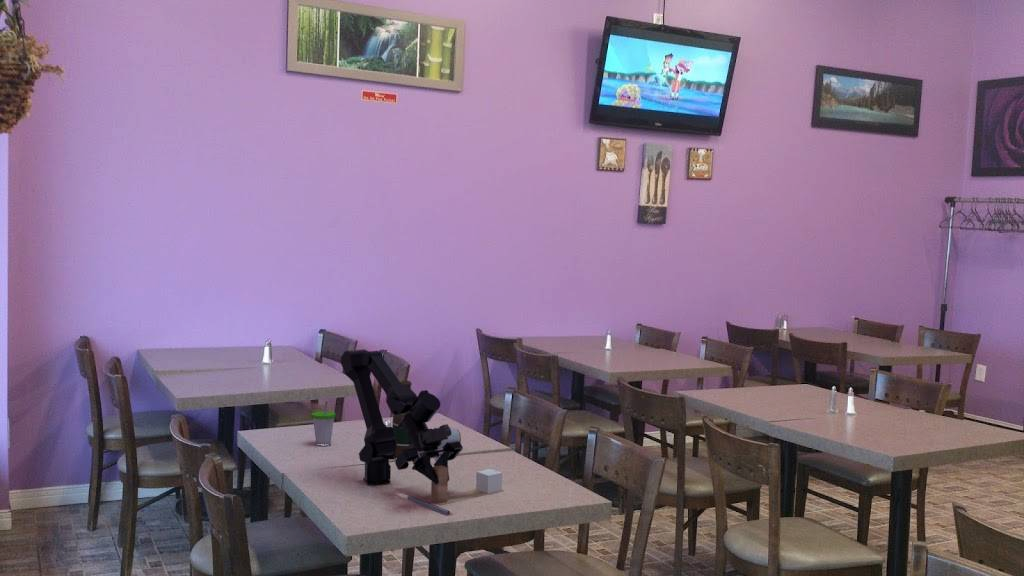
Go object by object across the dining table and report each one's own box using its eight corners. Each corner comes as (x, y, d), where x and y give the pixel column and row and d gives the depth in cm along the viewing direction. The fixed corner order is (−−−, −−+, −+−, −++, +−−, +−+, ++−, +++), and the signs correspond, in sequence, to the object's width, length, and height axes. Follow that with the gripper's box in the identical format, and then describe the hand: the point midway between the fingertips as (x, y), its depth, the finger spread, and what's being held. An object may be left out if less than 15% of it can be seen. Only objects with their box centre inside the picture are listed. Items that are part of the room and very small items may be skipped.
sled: (426, 503, 251) (426, 466, 250) (489, 489, 265) (490, 453, 265) (440, 509, 246) (440, 470, 245) (504, 494, 261) (505, 458, 260)
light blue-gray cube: (476, 489, 261) (476, 471, 261) (490, 486, 265) (490, 468, 264) (487, 493, 257) (488, 475, 257) (501, 490, 261) (502, 472, 260)
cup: (316, 441, 318) (316, 396, 317) (338, 442, 317) (339, 397, 316) (307, 446, 310) (308, 401, 309) (331, 448, 309) (331, 402, 308)
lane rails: (407, 499, 254) (407, 496, 254) (479, 484, 271) (479, 480, 271) (446, 515, 242) (446, 511, 242) (520, 498, 258) (520, 494, 258)
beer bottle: (406, 461, 294) (407, 384, 293) (386, 457, 299) (387, 381, 297) (421, 456, 301) (423, 381, 299) (402, 452, 305) (403, 378, 303)
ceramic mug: (462, 451, 308) (462, 428, 308) (438, 453, 305) (438, 429, 305) (450, 445, 318) (450, 422, 318) (427, 446, 315) (427, 423, 314)
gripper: (402, 419, 245) (427, 470, 237) (459, 410, 257) (484, 459, 250) (384, 443, 251) (408, 494, 244) (440, 434, 264) (465, 482, 256)
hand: (442, 482), depth 248 cm, fingers closed on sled, 3 cm apart
